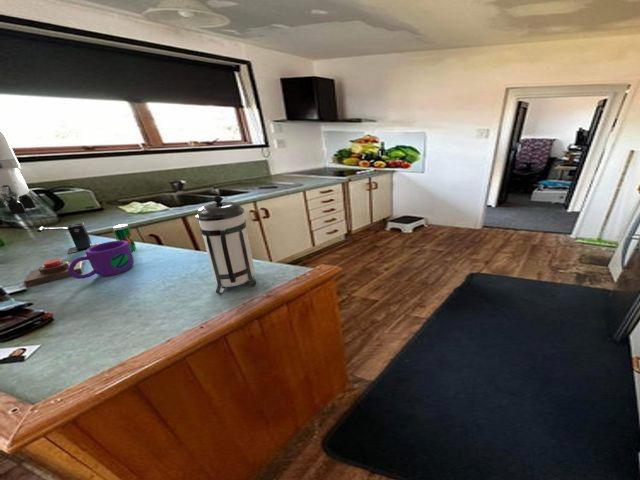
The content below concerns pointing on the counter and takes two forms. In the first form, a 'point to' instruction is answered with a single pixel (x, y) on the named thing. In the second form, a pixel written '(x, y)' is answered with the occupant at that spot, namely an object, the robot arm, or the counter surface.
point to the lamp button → (52, 263)
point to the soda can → (124, 235)
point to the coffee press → (226, 243)
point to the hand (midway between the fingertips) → (24, 210)
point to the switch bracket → (80, 238)
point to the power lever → (50, 229)
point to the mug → (105, 259)
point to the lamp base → (52, 273)
